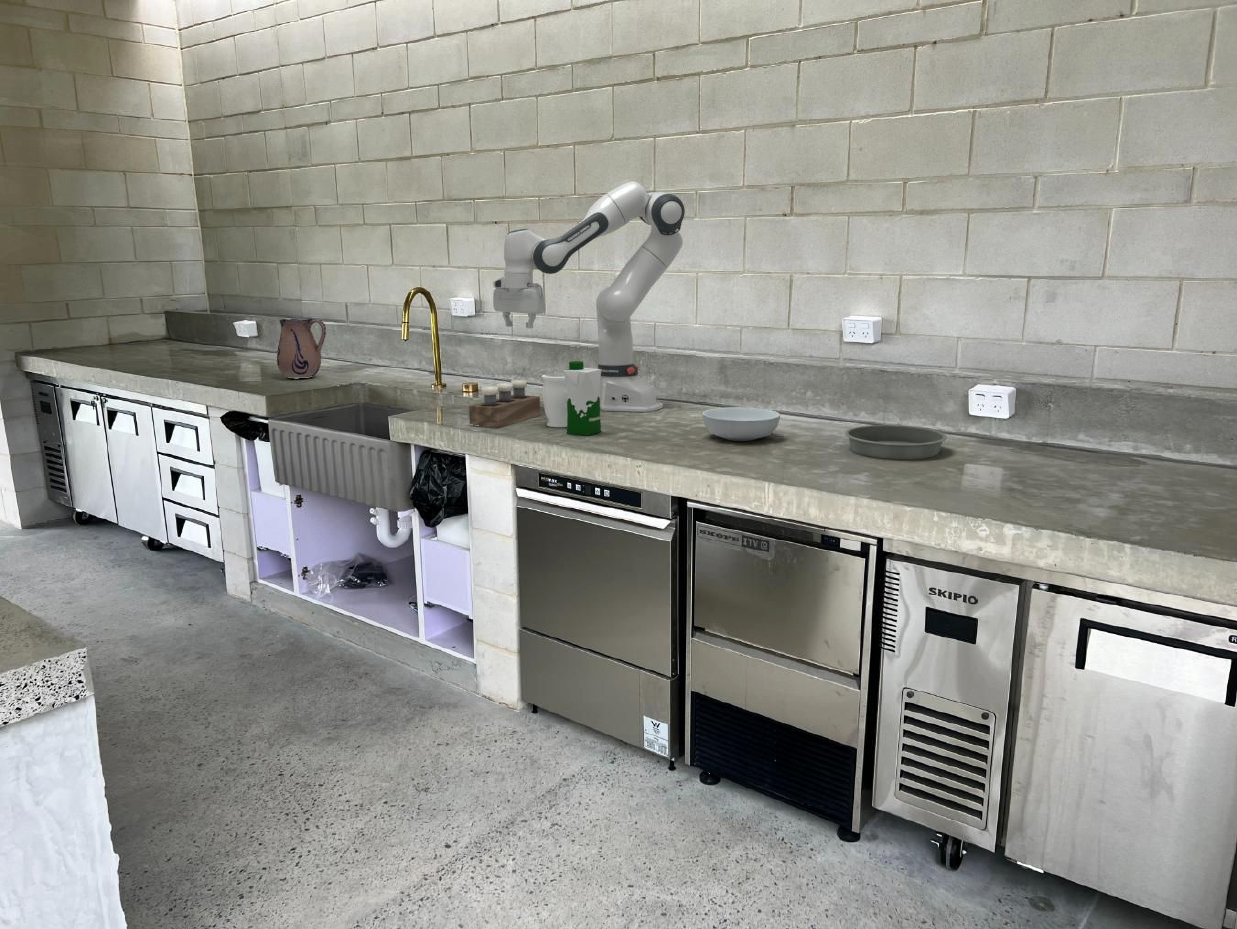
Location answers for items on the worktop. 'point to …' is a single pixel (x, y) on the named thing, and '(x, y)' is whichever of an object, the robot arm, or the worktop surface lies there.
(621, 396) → the robot arm
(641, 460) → the worktop surface
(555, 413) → the white cup
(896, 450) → the cake pan
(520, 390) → the knob
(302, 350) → the ceramic pitcher
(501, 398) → the knob middle
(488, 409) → the knob mount
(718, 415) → the serving bowl
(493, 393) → the knob
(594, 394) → the milk carton
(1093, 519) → the worktop surface
